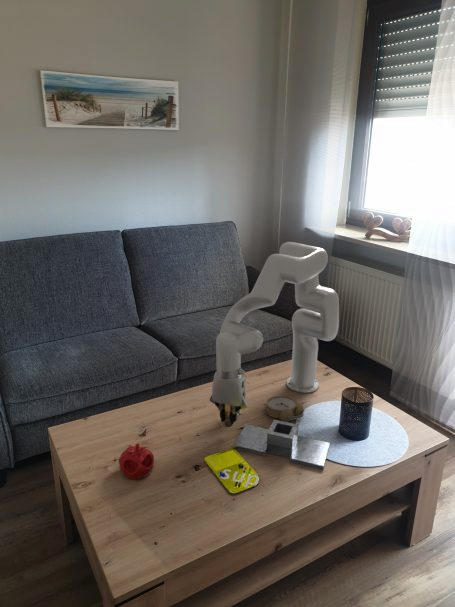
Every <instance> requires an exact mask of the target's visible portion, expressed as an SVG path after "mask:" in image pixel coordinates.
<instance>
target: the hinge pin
mask: <svg viewBox="0 0 455 607" xmlns="http://www.w3.org/2000/svg"><path fill="white" fill-rule="evenodd" d="M231 412H232V405H227V404H224V422H223V423H224V424H223V425H224V427H225V428H231V427H232V426H233V424H230V414H231Z"/></svg>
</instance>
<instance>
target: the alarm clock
mask: <svg viewBox="0 0 455 607" xmlns="http://www.w3.org/2000/svg"><path fill="white" fill-rule="evenodd" d="M262 405H263V406H265V408H266V409H265V412H266V414H268V416H270V417H272V418H274V419H280V421H283V422H288V423H289V422H290V421H291V420H298V419H299V420H300V419H302V418H303V417H304V412H305V409H304V406H303V404H302V403H300V402H298V401H297V400H296V399H295V398H293V397H291V396H287V395H274V396H272V397H270V398H268V399H267V400H266V402H265V403H263V404H262Z"/></svg>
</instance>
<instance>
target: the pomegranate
mask: <svg viewBox="0 0 455 607" xmlns="http://www.w3.org/2000/svg"><path fill="white" fill-rule="evenodd" d="M148 448H149V446H140V441H138V442H137V443H135V446H132V445H128V446H127V447H126V449H125V450H124V451H122V453H121V454H120V456H119V457H118V465H119V470H120V471H121V472H122V474H123V475H125V477H127V478H129V479H133V480H134V479H141V478H144V477H146V476H147V475H149V473H151V471H152V470H153V468H154V462H155V458H154V457H155V456H154V454H153V452H152V451H151V450H149V449H148Z"/></svg>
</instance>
